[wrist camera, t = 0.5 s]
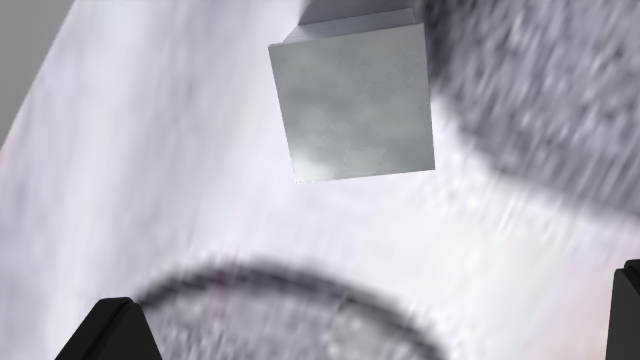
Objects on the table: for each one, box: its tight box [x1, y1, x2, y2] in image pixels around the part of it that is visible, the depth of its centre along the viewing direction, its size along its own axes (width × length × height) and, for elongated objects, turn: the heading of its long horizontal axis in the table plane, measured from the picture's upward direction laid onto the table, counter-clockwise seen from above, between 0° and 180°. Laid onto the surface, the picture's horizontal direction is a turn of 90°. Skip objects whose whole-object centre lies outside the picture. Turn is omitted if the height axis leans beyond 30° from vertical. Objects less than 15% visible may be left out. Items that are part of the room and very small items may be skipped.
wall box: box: [268, 8, 435, 184], centre depth 33 cm, size 9×9×9 cm
